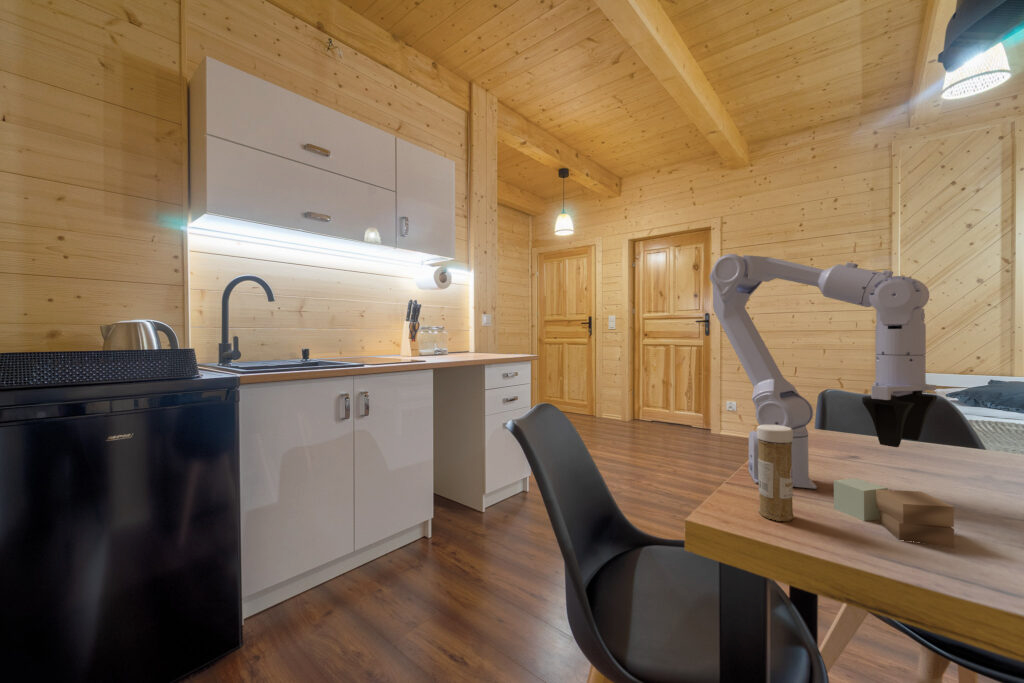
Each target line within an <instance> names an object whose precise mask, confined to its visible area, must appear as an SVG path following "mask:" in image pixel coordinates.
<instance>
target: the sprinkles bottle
mask: <svg viewBox="0 0 1024 683" xmlns="http://www.w3.org/2000/svg"><path fill="white" fill-rule="evenodd" d="M756 431H757V438H758V442H759V458H758V478H759V483H758V493H759V498H758V500H759V502H758V503H759V506H758V507H759V508H758V513H759V514H760V515H761V516H762V517H764V518H766V519H768V520H770V519H772V520H771V521H775V520H776V522H781V521H783V522H790V521H792V520H793V519H794V518H795V515H794V511H793V509H794V508H793V497H794V490H793V489H794V487H793V484H792V452H791V448H792V447H791V445H792V441H793V430H792V429H791V428H789V427H786V426H780V425H758V426H757V427H756Z"/></svg>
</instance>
